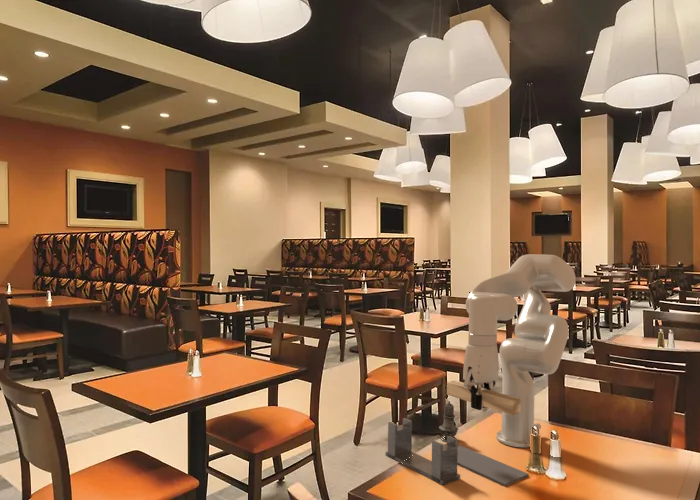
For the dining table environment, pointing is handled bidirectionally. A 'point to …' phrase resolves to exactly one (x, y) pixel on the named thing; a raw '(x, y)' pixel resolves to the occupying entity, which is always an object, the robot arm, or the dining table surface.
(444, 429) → the grey figurine
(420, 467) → the rack
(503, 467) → the mat
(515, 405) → the rail
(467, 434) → the dining table surface
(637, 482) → the dining table surface
